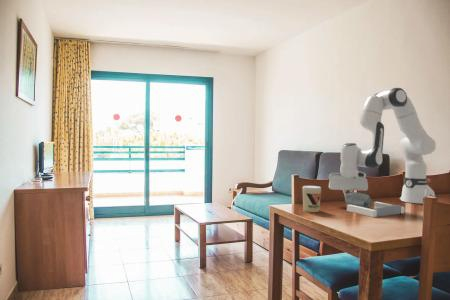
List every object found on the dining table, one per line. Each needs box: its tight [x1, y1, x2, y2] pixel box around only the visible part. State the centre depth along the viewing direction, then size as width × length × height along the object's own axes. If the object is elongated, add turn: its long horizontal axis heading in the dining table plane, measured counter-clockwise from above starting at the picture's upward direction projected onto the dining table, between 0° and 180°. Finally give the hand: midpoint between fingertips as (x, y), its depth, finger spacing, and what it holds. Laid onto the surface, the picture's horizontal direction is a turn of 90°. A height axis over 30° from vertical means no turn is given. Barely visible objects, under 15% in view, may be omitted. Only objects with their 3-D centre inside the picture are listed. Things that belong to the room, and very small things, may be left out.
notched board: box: [346, 201, 405, 218], centre depth 187 cm, size 23×16×4 cm
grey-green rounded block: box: [344, 191, 372, 209], centre depth 196 cm, size 14×10×10 cm
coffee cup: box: [302, 185, 322, 213], centre depth 187 cm, size 9×9×12 cm
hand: (347, 198), depth 203 cm, fingers closed
